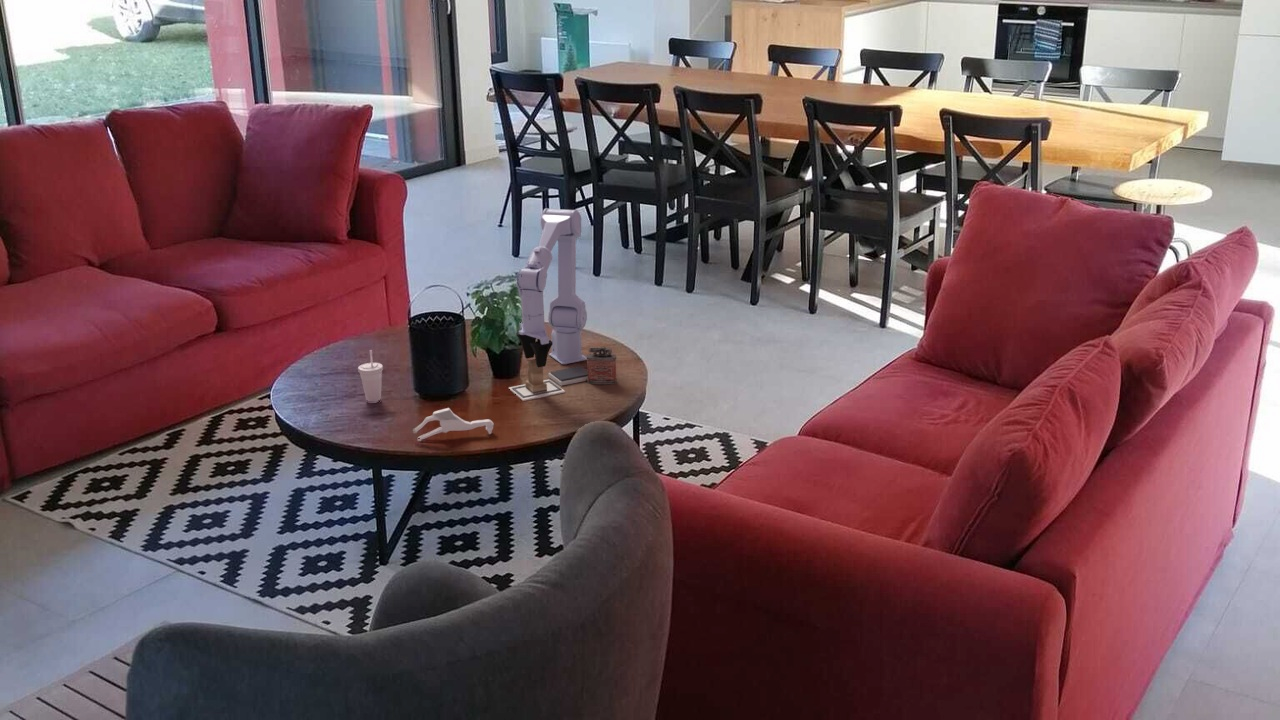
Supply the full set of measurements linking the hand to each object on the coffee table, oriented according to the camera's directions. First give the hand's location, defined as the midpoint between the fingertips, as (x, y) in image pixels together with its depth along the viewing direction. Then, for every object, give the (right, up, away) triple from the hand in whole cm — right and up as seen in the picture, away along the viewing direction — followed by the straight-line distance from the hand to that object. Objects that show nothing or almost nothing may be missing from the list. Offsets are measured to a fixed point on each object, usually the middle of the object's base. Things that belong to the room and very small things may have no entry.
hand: (535, 362), depth 326 cm
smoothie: (-42, -10, -2) cm, 44 cm away
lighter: (+17, -6, +8) cm, 20 cm away
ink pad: (+9, -4, +11) cm, 15 cm away
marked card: (0, -8, +3) cm, 8 cm away
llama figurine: (-18, -19, -25) cm, 36 cm away
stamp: (0, -7, +3) cm, 8 cm away
